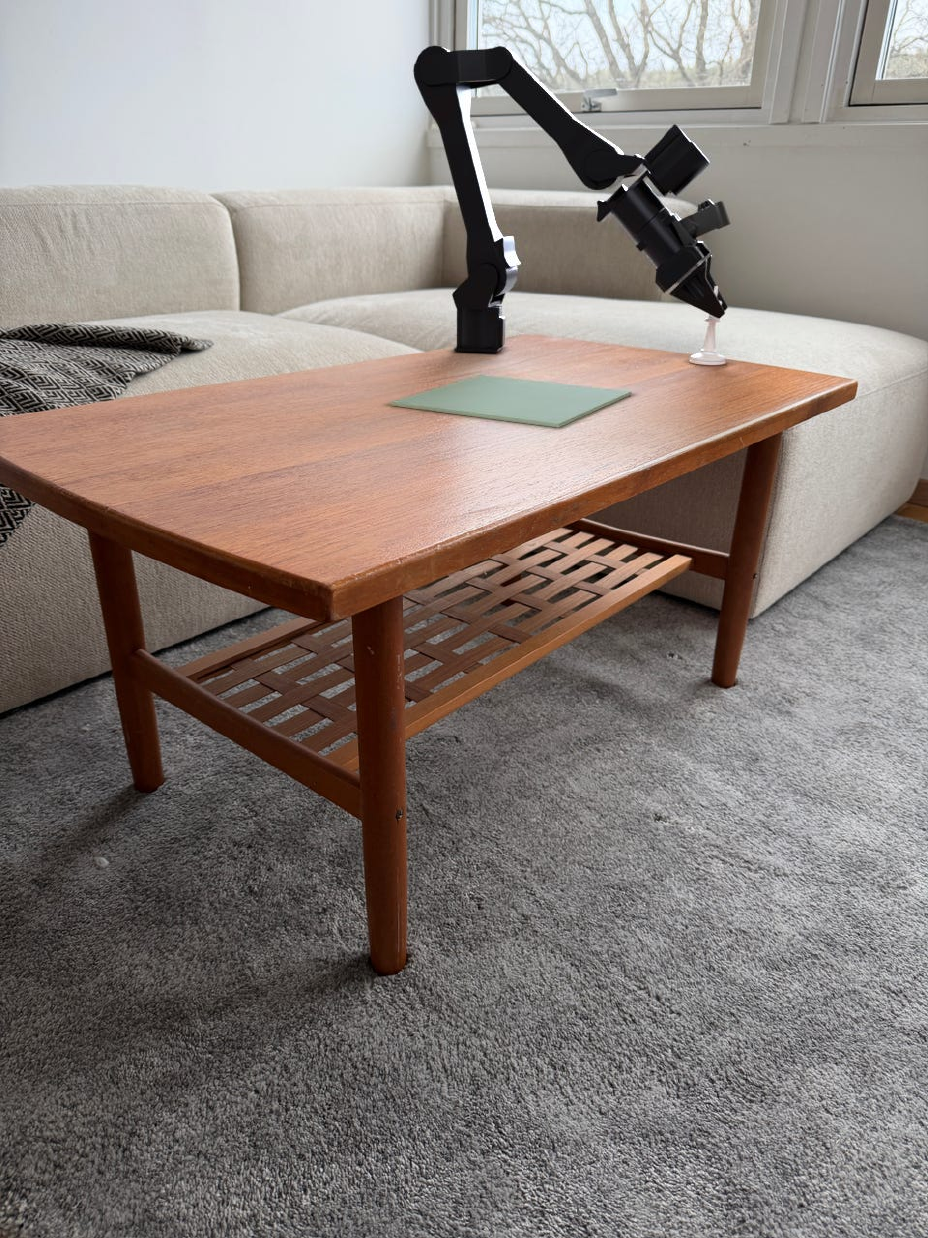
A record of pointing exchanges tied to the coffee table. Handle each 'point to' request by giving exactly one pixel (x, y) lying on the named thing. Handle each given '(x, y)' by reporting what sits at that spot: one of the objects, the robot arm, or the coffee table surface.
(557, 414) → the felt mat
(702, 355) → the chess piece
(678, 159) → the robot arm
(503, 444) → the coffee table surface
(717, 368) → the coffee table surface
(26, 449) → the coffee table surface
